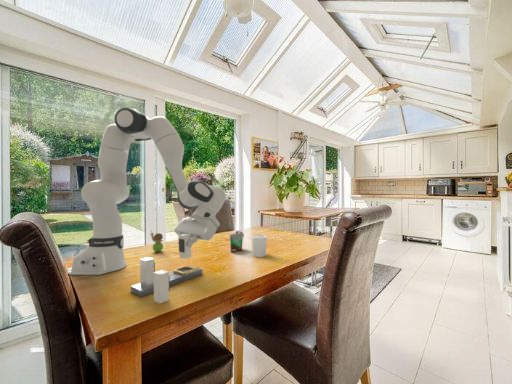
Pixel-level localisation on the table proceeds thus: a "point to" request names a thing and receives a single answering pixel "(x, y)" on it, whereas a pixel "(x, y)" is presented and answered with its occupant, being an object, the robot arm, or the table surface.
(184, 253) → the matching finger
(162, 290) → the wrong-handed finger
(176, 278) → the rail
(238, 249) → the food container
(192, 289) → the table surface
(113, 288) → the table surface
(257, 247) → the white cup
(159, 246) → the snail figurine
